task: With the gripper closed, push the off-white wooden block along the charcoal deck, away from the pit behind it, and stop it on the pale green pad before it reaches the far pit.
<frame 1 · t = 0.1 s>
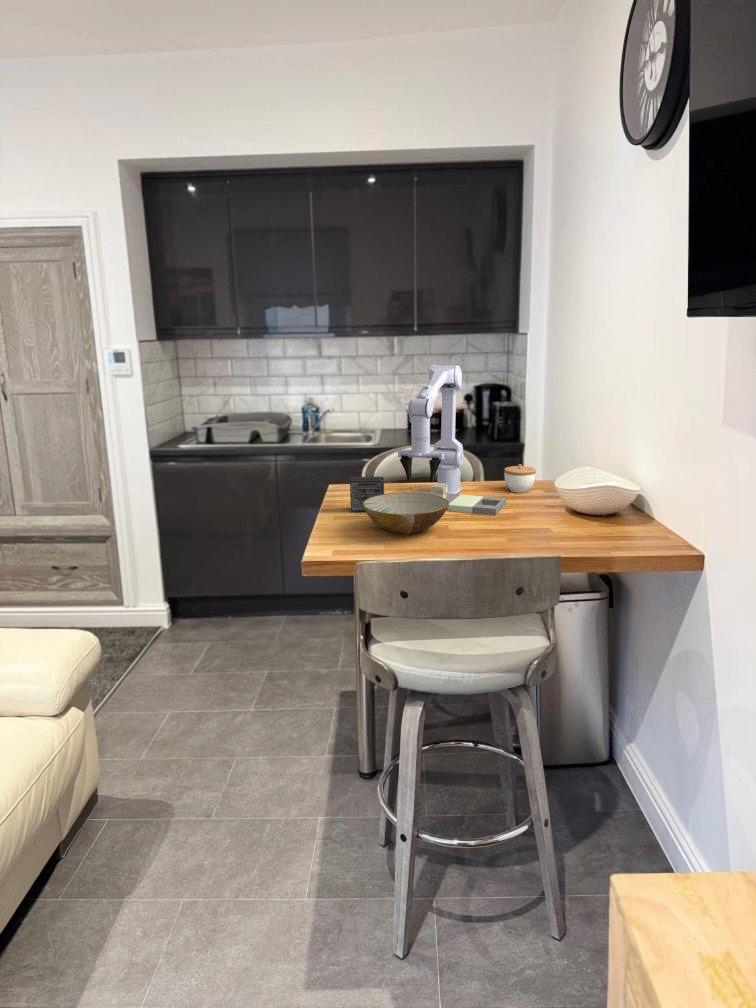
hand: (420, 480, 226), 10 cm above the table, tool pointing down, fingers open, 7 cm apart
block: (438, 498, 236), point 2 cm above the table, touching deck
lidded jar: (519, 491, 253), on the table
bowl: (405, 529, 210), on the table
small box: (367, 510, 232), on the table
deck: (452, 505, 235), on the table
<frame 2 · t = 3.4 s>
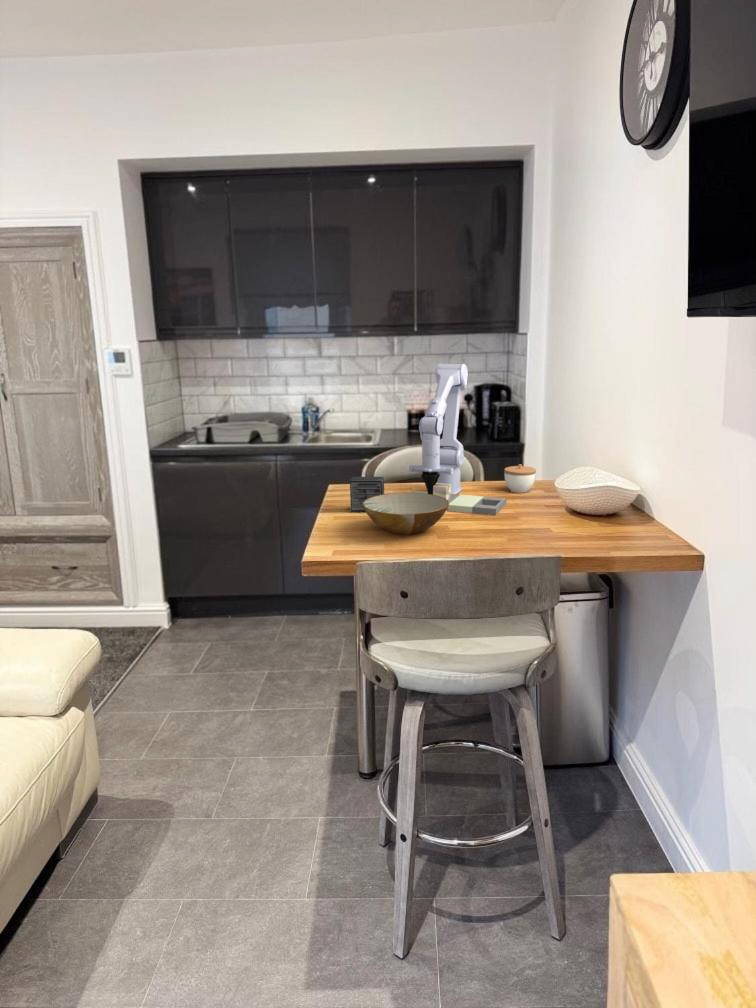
hand: (430, 494, 237), 3 cm above the table, tool pointing down, fingers closed
block: (441, 498, 236), point 2 cm above the table, touching gripper
everything else where it was.
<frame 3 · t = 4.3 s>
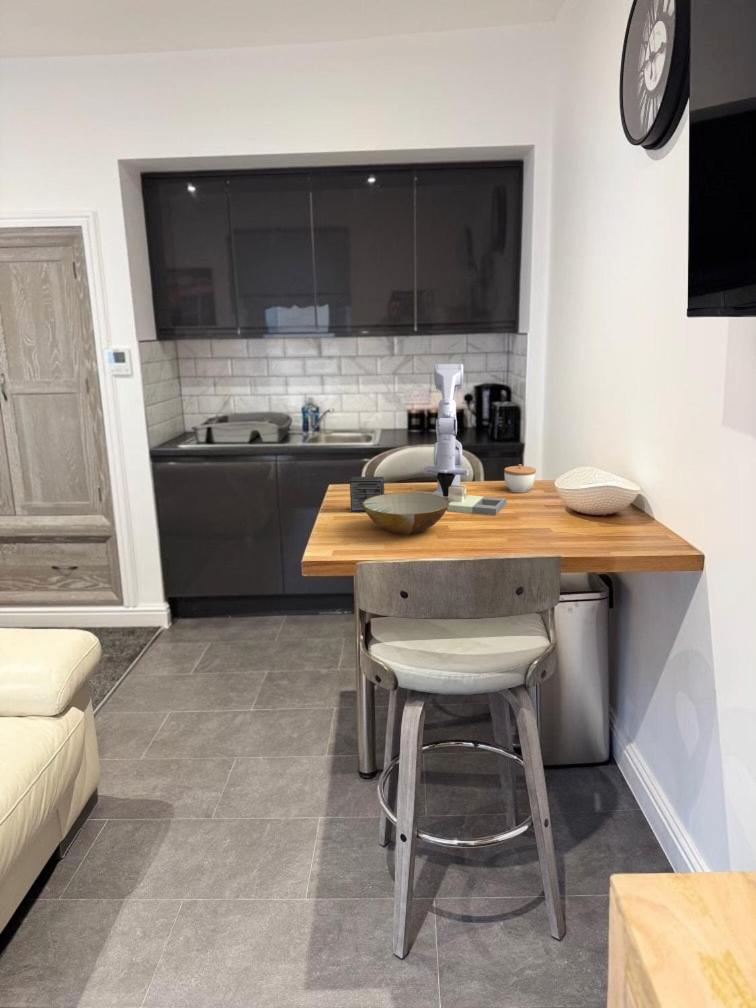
hand: (446, 495, 235), 3 cm above the table, tool pointing down, fingers closed
block: (457, 499, 234), point 2 cm above the table, touching deck, gripper
everything else where it was.
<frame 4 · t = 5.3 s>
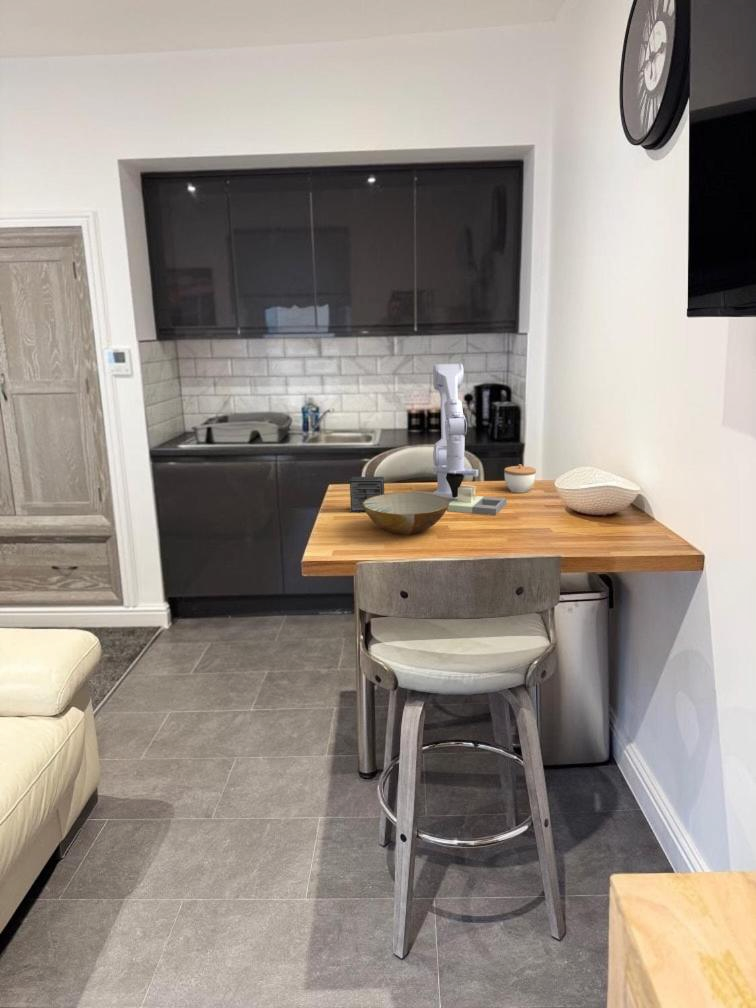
hand: (455, 496, 234), 3 cm above the table, tool pointing down, fingers closed
block: (466, 500, 233), point 2 cm above the table, touching deck, gripper
everything else where it was.
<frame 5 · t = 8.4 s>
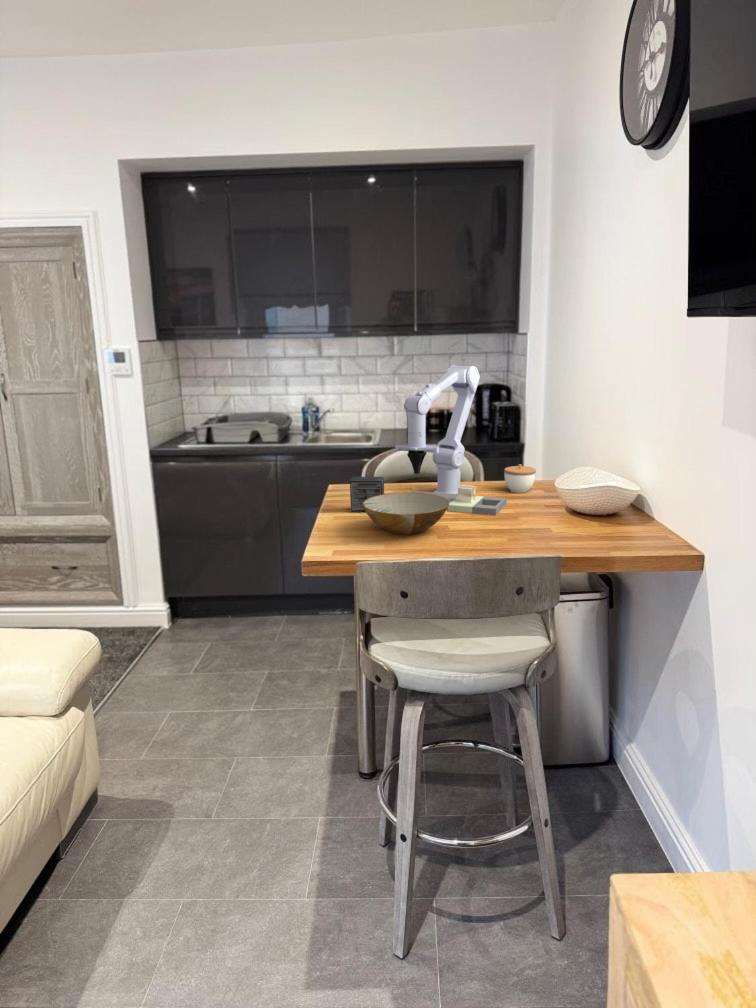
hand: (417, 473, 239), 9 cm above the table, tool pointing down, fingers closed
block: (466, 500, 233), point 2 cm above the table, touching deck
everything else where it was.
at the end: block 0.1 cm from the target spot on the deck, point 2.0 cm above the deck's base; block tilted 0° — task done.
